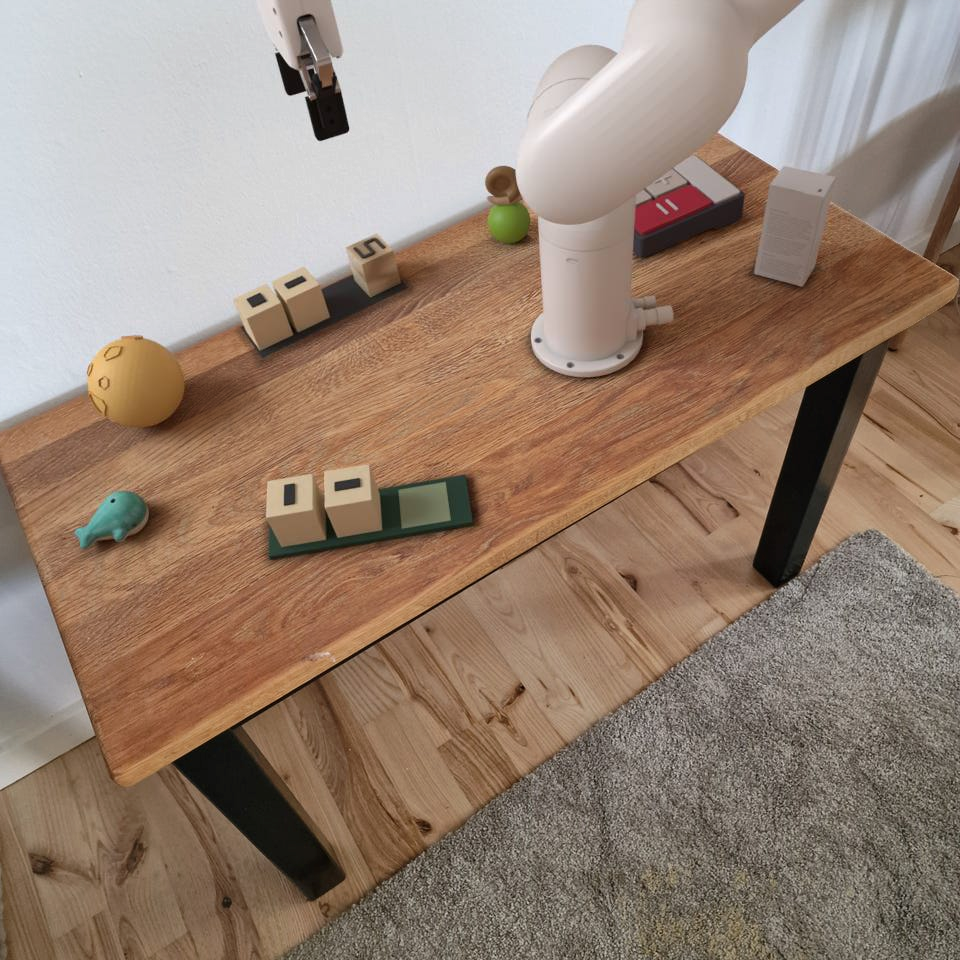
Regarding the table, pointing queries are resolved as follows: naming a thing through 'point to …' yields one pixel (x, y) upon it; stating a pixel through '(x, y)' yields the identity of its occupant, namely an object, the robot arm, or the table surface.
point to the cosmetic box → (793, 225)
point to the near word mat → (359, 510)
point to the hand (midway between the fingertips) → (317, 112)
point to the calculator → (684, 206)
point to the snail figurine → (506, 206)
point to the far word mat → (337, 307)
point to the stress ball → (135, 382)
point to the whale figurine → (115, 519)
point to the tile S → (373, 265)
